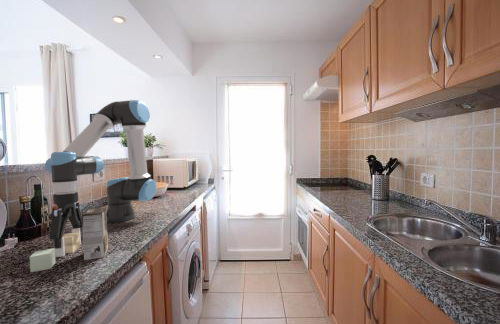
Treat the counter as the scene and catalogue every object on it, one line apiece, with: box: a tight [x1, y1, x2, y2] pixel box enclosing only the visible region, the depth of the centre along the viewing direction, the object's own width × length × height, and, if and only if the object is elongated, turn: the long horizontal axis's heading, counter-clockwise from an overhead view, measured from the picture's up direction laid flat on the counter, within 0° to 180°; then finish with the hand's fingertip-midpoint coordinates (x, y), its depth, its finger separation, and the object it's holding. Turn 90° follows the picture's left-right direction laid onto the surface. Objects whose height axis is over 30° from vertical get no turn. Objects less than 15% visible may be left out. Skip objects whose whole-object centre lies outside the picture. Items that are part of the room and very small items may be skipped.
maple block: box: [62, 232, 81, 255], centre depth 91 cm, size 5×5×6 cm
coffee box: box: [81, 207, 109, 261], centre depth 87 cm, size 9×6×16 cm
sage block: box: [29, 247, 56, 273], centre depth 78 cm, size 5×5×5 cm
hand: (68, 250), depth 91 cm, fingers open, 11 cm apart
